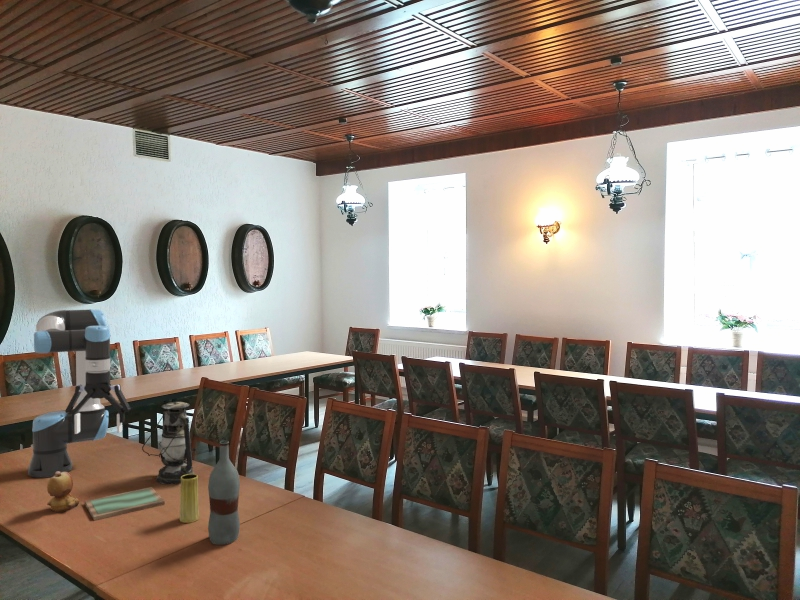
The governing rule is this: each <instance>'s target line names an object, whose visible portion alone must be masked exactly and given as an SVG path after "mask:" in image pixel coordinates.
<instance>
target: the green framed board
mask: <svg viewBox="0 0 800 600" xmlns="http://www.w3.org/2000/svg"><path fill="white" fill-rule="evenodd" d="M165 501H166V500H164V499H163V498H162V497H161V495H160V494H159V493H158V492H157V491H156V490H155V489H154V487H152V486H150V487H144V488H141V489H136V490H135V489H134V490H131V491H126V492H122V493H116V494H112V495H108V496H103V497H99V498H98V497H97V498H92V499H89V500H85V501H84V505H85V508H86V509H87V511H88V512H89V514H90V516H91V518H92V519H93V521H99V520H102V519H106V518H110V517H115V516H121V515H125V514H128V513H133V512H136V511H142V510H146V509H150V508H154V507H159V506H163V505H165V504H166V503H165Z"/></svg>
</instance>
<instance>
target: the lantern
mask: <svg viewBox="0 0 800 600" xmlns="http://www.w3.org/2000/svg"><path fill="white" fill-rule="evenodd" d="M189 406H190V403H187V402H183V401H173V402H168V403H165V404H162V405H161V408H163V409H165V410H166V411H163V413H162V416H161V418H160V419H159V421H158V422H157V425H156V427H155V429H154V430H153V431H152V432H151V435H149V437H148V438H147V440H146V441H145V443H143V445H142V446H141V449H142V450H141V451H142V452H144V453H145V454H146V455H148V457H150V456H153V457H158V458H160V460H161V463H162V464H163V465H164V466H163V467H161V468H160V469H159V470H158V474H157V476H156V479H155V481H156V482H157V483H158V484H161V485H179V484H180V485H181V476H183V475H186V474H195V471H194V469H193V457H192V453H194V452H196V451H197V449H196V448H192V446H191V445H192V444H191V443H192V440H191V432H190V424H189V423H190V420H189V419H190V418H189V417H188V416H187V410H186V408H188V407H189ZM162 419H163V421H162ZM161 421H162V433H161V441H160V442H159V447H160V452H159V454H152V453H151V454H150V452H149V453H148V452H147V451H145V450H144V447H145V446H146V444H147V443H148V442H149V440H150V438H151V437H152V435H153V434H154V433H155V432H156V430H157V429H158V426H159V424H160V422H161Z"/></svg>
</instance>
